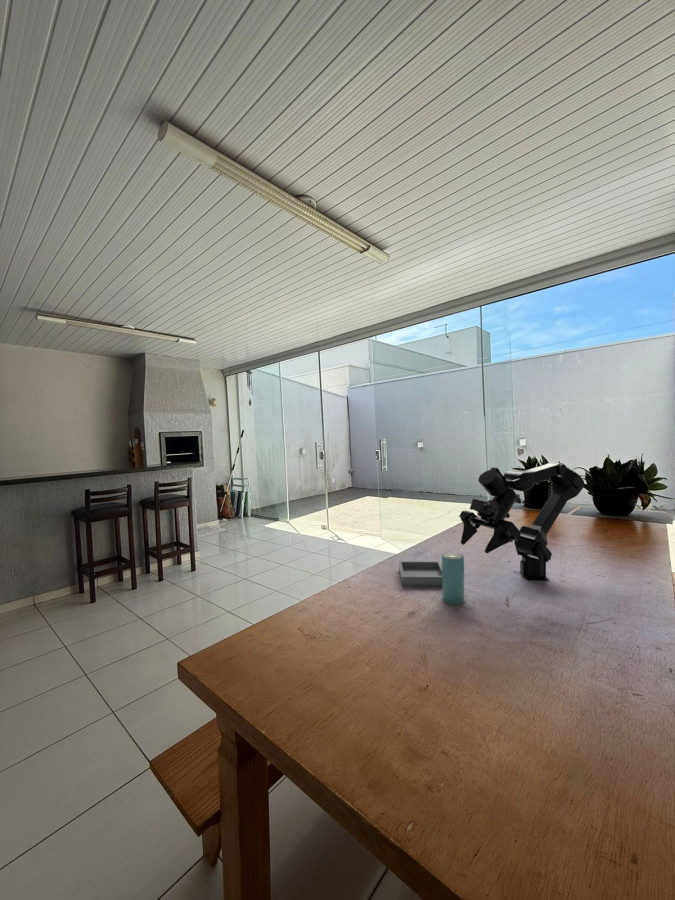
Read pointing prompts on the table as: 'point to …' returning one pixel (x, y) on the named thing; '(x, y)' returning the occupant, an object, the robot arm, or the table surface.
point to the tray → (420, 573)
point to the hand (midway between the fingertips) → (473, 548)
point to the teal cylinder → (453, 578)
